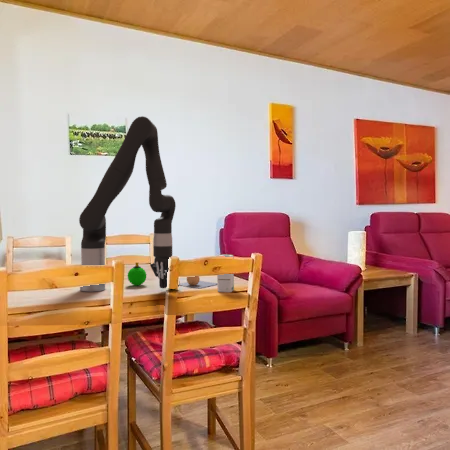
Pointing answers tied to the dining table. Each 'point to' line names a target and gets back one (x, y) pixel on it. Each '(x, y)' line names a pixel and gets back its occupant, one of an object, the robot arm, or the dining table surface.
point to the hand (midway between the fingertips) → (163, 287)
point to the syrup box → (225, 281)
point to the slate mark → (200, 284)
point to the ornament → (137, 275)
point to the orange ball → (193, 280)
